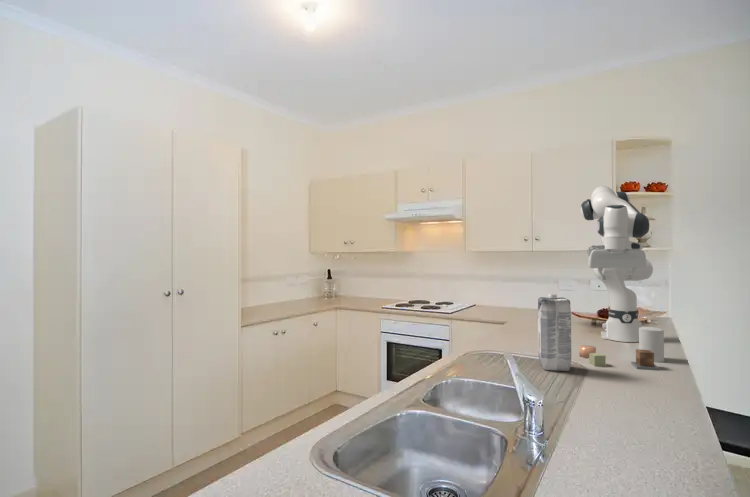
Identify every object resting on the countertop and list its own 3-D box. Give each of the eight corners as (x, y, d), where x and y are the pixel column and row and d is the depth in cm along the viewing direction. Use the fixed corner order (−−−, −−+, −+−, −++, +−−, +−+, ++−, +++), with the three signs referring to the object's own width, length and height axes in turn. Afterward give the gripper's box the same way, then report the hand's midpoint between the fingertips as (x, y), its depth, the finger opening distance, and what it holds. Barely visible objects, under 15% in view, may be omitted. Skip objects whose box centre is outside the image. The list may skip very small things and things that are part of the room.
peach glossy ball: (578, 354, 173) (578, 344, 173) (594, 355, 171) (594, 345, 171) (581, 358, 167) (580, 348, 167) (597, 359, 165) (597, 349, 165)
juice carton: (573, 372, 148) (572, 296, 148) (541, 371, 150) (540, 295, 150) (566, 365, 156) (566, 293, 156) (537, 364, 159) (536, 293, 159)
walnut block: (639, 365, 152) (639, 352, 152) (636, 362, 157) (635, 349, 157) (654, 366, 151) (653, 352, 151) (649, 363, 155) (649, 350, 155)
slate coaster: (631, 363, 158) (631, 361, 158) (652, 365, 156) (652, 362, 156) (637, 368, 151) (637, 366, 151) (659, 370, 149) (659, 368, 149)
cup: (656, 356, 168) (656, 327, 168) (668, 362, 160) (668, 330, 160) (635, 356, 169) (634, 326, 169) (646, 362, 160) (645, 330, 160)
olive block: (589, 363, 159) (589, 353, 159) (599, 363, 159) (599, 353, 159) (594, 366, 155) (594, 355, 155) (605, 366, 155) (605, 355, 155)
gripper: (589, 245, 167) (589, 280, 167) (647, 244, 161) (648, 280, 161) (586, 245, 173) (586, 279, 173) (642, 244, 167) (642, 279, 167)
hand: (616, 279), depth 167 cm, fingers open, 8 cm apart
